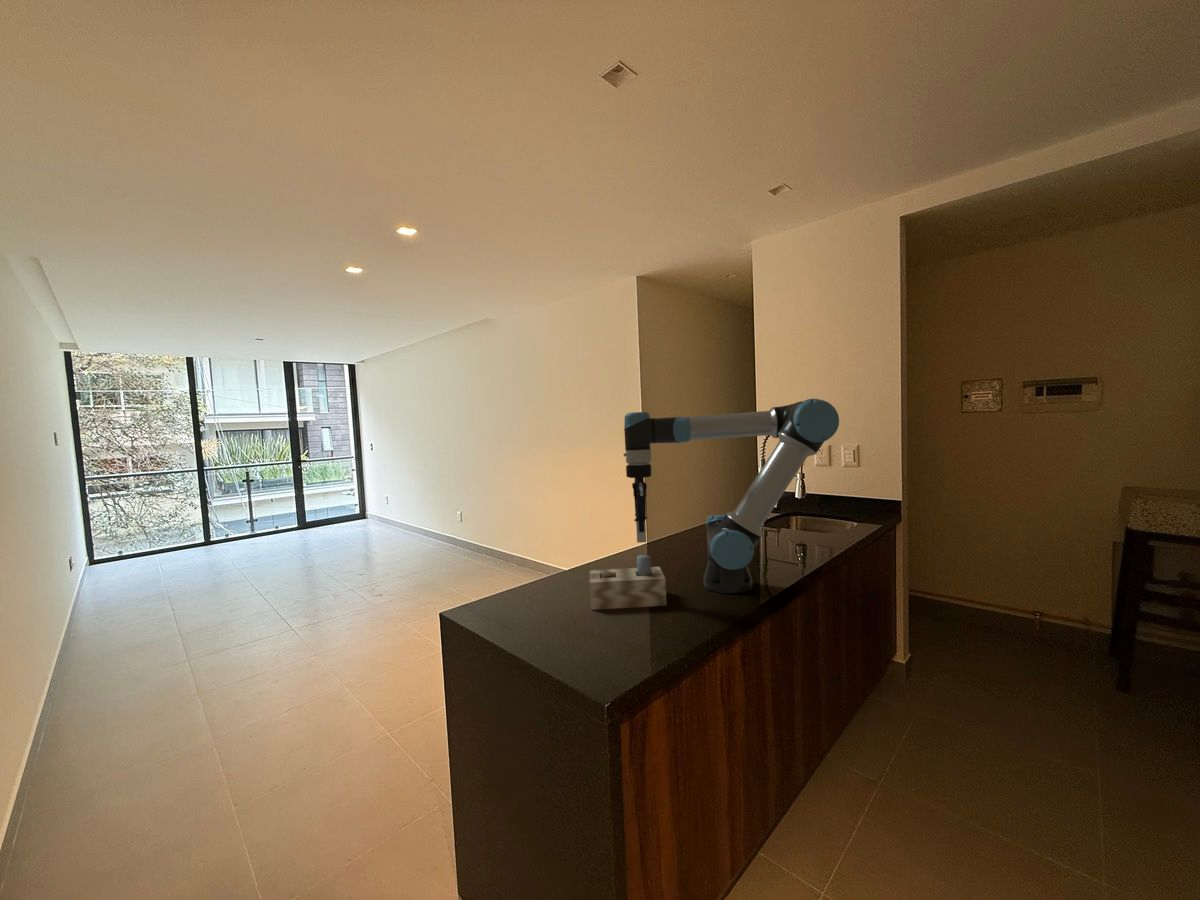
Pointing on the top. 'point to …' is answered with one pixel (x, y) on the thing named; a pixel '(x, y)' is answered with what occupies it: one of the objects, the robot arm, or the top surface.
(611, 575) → the walnut peg
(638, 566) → the blue peg
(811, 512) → the top surface
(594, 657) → the top surface
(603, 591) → the birch block
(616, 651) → the top surface
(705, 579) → the robot arm
